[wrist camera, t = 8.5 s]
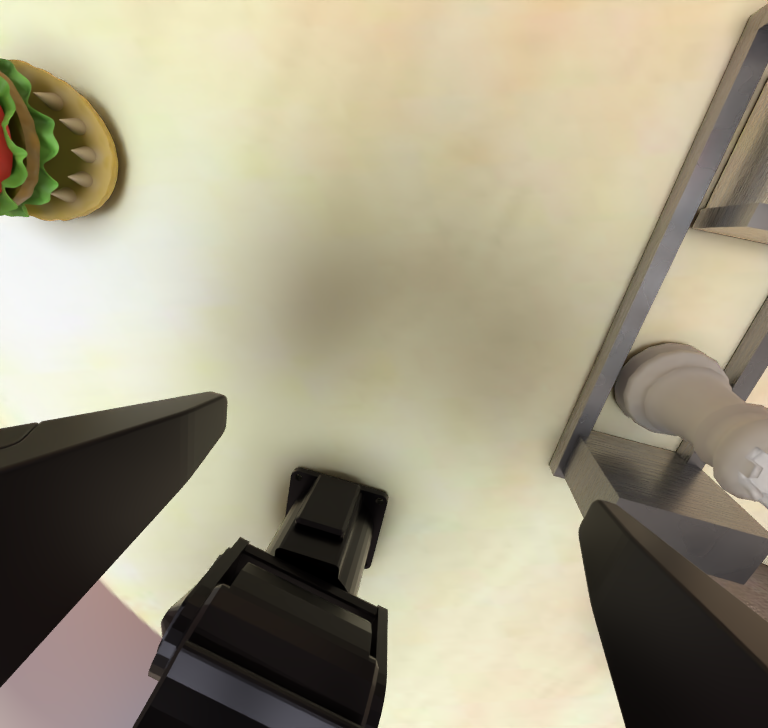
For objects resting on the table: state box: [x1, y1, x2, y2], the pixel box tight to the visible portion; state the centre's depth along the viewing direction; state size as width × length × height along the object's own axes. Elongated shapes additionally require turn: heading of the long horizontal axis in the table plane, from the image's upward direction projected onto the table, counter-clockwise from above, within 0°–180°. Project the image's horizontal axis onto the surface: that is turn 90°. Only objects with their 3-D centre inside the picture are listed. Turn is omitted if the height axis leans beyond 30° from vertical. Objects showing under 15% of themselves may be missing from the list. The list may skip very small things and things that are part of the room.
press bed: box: [549, 4, 768, 585], centre depth 14 cm, size 21×7×6 cm, turn 168°
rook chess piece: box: [614, 343, 768, 509], centre depth 15 cm, size 4×4×8 cm
